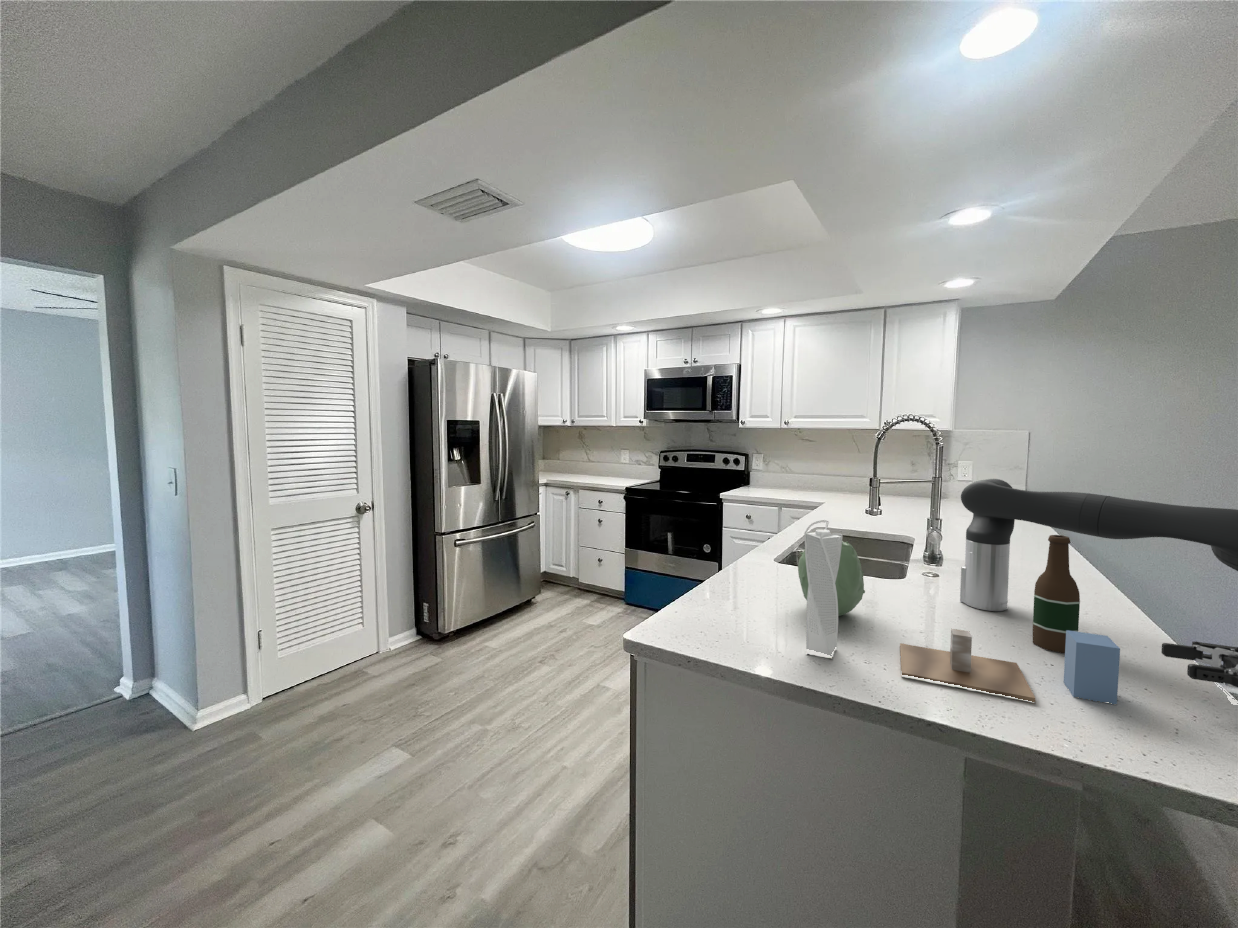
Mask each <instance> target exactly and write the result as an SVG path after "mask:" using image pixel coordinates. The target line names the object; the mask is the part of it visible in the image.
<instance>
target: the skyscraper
mask: <svg viewBox="0 0 1238 928" xmlns="http://www.w3.org/2000/svg"><path fill="white" fill-rule="evenodd" d="M821 523H825V527H824V529H821V528H818V529H815V532H808V531H809V530H810V529H811V527H813V526H815V525H818V524H821ZM829 523H830V522H829V520H825V519H824V520H817V521H814V522H811V524H810V525H808V527H807V528H806V529H805V531H804V550H805V557H806V569H807V577H808V584H809V586H808V595H807V600H806V613H805V614H806V617H805V620H806V621H805V625H806V626H805V628H806V629H805V630H806V631H805V637H806V638H805V639H806V641H805V642H806V643H805V644H806V647H805V648H806V649H809V650H814V651H816V652H821V653H824V654H827V655H830V656H832V655H831V654H832V652H833V651H834V649H835V647H837V648H838V634H839V633H838V631H839V616H838V600H837V591H836V585H835V582H836V578H837V573H838V568H839V562H840V555H841V546H842V541H843V534H842V533H840V532H832V533H831V530H829V529H828V527H829ZM806 649H805V650H806Z"/></svg>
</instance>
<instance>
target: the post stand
mask: <svg viewBox="0 0 1238 928" xmlns="http://www.w3.org/2000/svg"><path fill="white" fill-rule="evenodd" d="M972 639H973V637H972V633H971V632H970V631H969V630H965V629H957V628H951V629H950V650H949V651H948V650H941V649H937V648H930V647H925V646H924V647H923V646H918V645H914V644H913V645H912V644H907V643H902V642H901V643H899V653H900V656H901V658H900V672H901V671H902V675H908V676H914V677H918V678H924V679H930V680H933V681H940V682H944V683H948V684H954V685H960V686H962V687H967V688H972V689H976V690H981V691H986V692H989V693H995V694H1002V695H1005V696H1011V697H1015V698H1018V699H1023V700H1028V701H1032V702H1035V703H1036V696H1035V695H1034V693H1033V690H1032V689H1031V686H1030V685H1029V683H1028V682H1027V679H1026V677H1025V676H1024V674H1023V672H1022V671H1021V669H1020V667H1019V664H1018V663H1017V662H1013V661H1008V660H1001V659H995V658H989V657H984V656H979V655H972V643H973V640H972Z"/></svg>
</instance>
